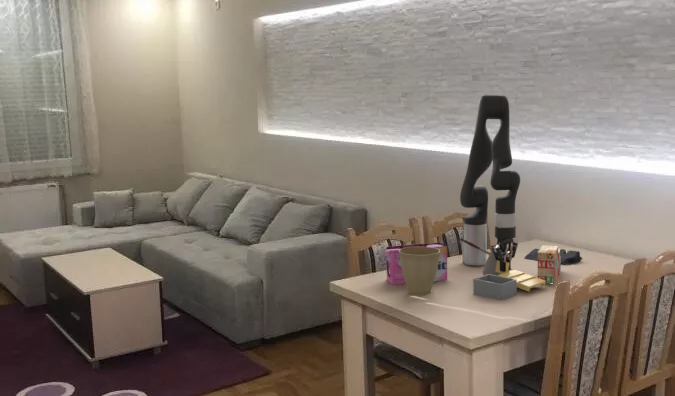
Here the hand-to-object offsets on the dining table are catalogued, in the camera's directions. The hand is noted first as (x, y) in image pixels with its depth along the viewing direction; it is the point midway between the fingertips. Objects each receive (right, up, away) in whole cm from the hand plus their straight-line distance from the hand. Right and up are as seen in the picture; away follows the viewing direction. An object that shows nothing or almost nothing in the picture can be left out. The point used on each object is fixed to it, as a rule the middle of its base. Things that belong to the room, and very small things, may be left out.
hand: (505, 270), depth 265 cm
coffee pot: (-5, -4, +13) cm, 15 cm away
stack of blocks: (+20, -4, +12) cm, 24 cm away
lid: (+3, -3, -3) cm, 6 cm away
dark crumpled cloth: (+30, 0, +41) cm, 51 cm away
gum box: (-31, -5, +13) cm, 34 cm away
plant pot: (-32, -8, -5) cm, 34 cm away
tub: (-6, -8, -11) cm, 15 cm away
